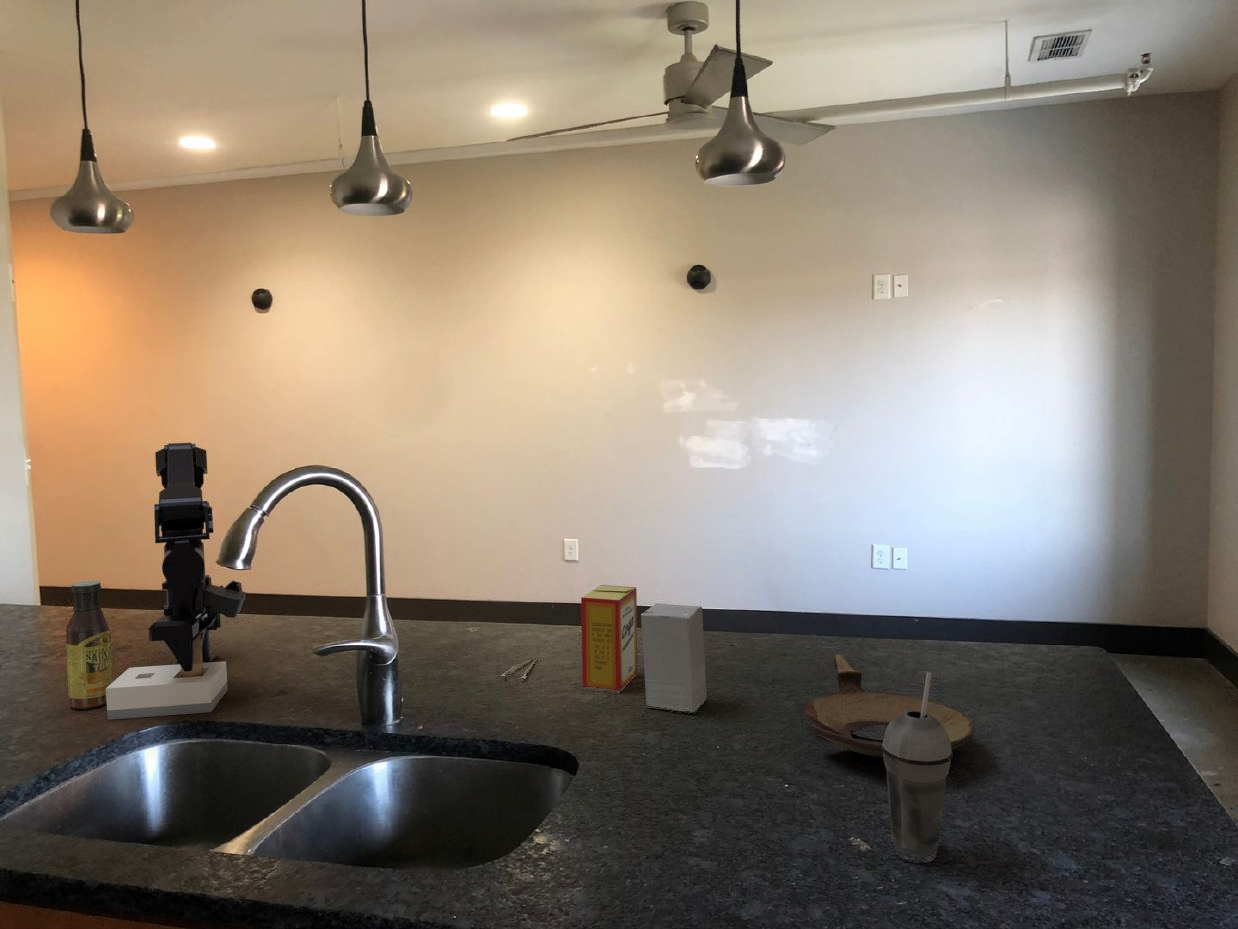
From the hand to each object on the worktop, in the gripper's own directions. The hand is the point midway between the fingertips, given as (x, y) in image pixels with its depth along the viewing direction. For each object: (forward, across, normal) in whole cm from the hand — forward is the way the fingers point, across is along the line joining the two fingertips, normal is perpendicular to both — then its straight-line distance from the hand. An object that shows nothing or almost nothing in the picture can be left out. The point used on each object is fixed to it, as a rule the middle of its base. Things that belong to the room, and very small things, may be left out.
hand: (191, 667), depth 142 cm
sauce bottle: (+6, +3, +16) cm, 18 cm away
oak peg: (+3, 0, 0) cm, 3 cm away
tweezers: (+7, +7, -55) cm, 56 cm away
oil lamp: (+6, -37, -102) cm, 109 cm away
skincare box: (+6, -18, -76) cm, 78 cm away
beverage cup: (+6, -65, -91) cm, 112 cm away
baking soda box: (+6, -5, -68) cm, 68 cm away
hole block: (+6, 0, +4) cm, 7 cm away
